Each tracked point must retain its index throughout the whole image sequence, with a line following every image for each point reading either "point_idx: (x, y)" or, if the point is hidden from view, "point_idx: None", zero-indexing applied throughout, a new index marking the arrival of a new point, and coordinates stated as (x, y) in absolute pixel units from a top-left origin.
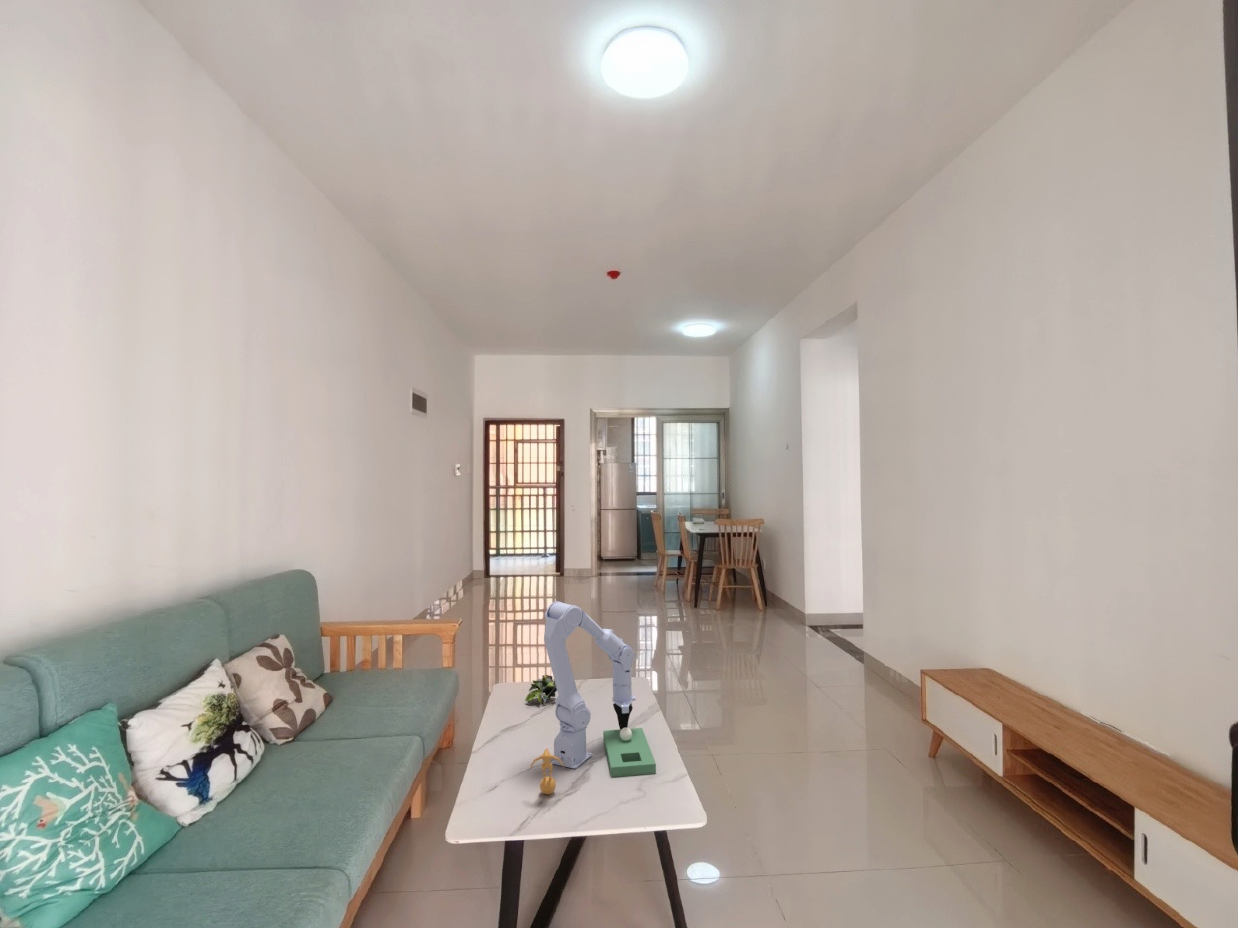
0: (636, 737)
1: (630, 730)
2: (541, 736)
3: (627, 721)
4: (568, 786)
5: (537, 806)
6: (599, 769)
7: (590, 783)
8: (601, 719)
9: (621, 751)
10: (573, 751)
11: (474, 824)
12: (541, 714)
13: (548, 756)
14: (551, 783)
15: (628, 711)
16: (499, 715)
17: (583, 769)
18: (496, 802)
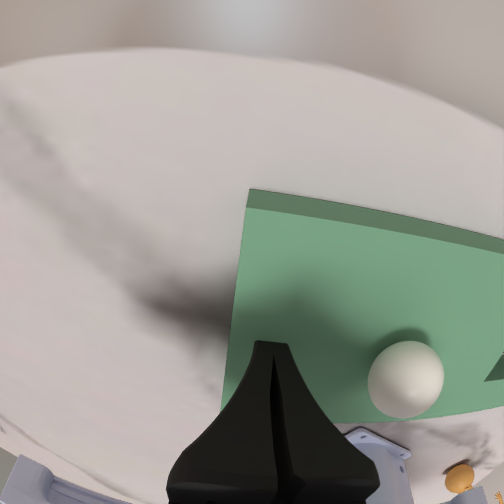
0: (395, 294)
1: (434, 376)
2: (163, 477)
3: (303, 385)
4: (463, 448)
5: (474, 467)
6: None
7: (489, 419)
8: (19, 325)
9: (473, 378)
10: (408, 490)
11: (447, 498)
12: (27, 431)
13: None
14: (473, 479)
15: (483, 495)
16: (52, 472)
17: (424, 437)
18: (420, 500)
